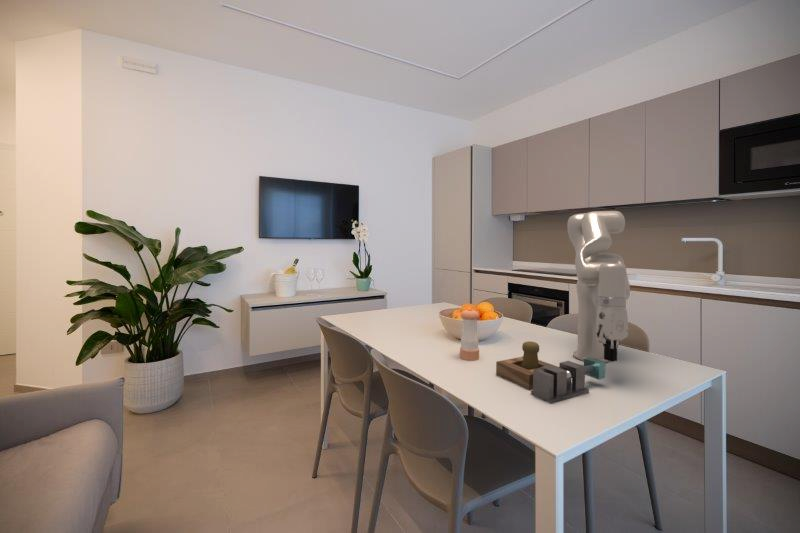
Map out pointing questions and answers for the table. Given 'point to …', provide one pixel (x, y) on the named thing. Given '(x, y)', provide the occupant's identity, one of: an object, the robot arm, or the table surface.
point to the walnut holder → (517, 371)
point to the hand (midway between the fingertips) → (610, 360)
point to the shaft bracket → (559, 382)
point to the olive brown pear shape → (530, 355)
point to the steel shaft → (592, 368)
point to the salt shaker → (469, 335)
